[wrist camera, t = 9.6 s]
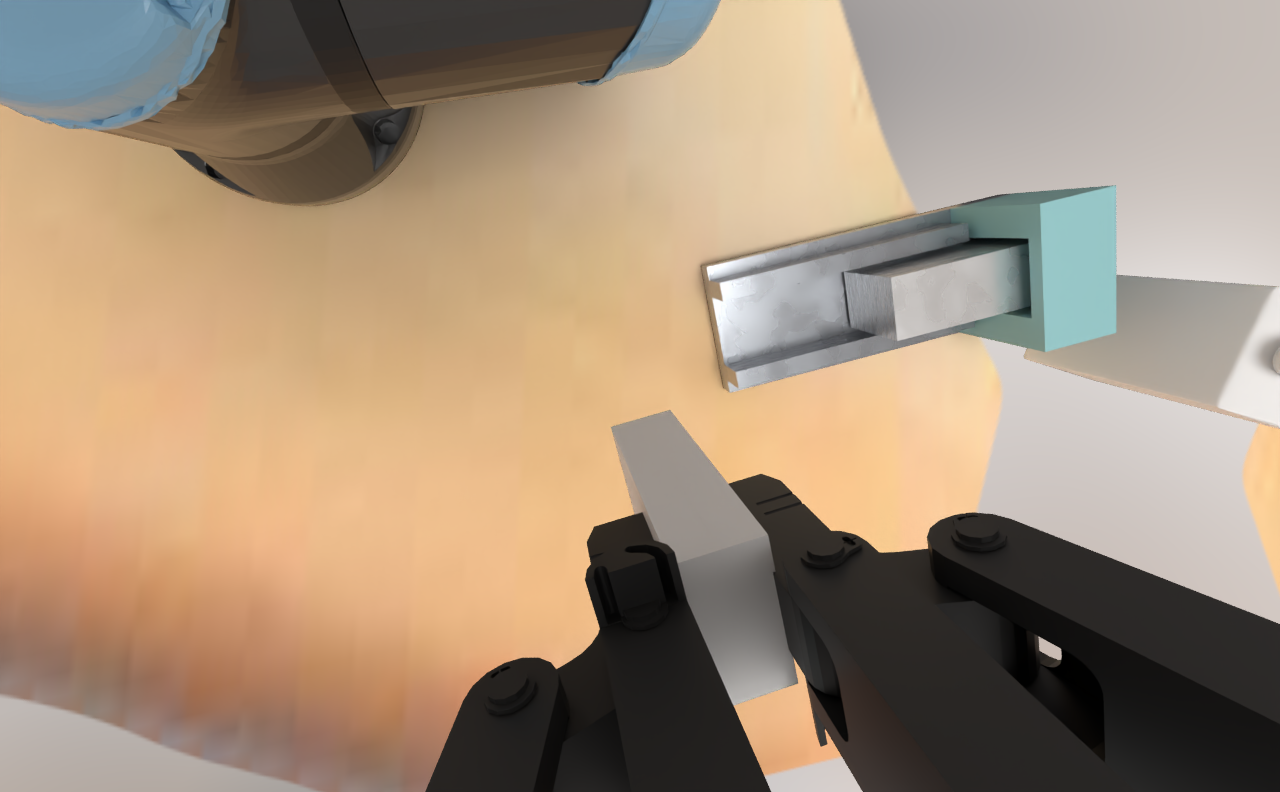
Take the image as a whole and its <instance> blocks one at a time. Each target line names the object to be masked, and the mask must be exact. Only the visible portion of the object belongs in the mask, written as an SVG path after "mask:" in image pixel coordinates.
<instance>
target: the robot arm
mask: <svg viewBox="0 0 1280 792" xmlns="http://www.w3.org/2000/svg"><path fill="white" fill-rule="evenodd" d="M720 1H721V0H0V104H2V105H4V106H7V107H9V108H11V109H13V110H15V111H17V112H19V113H21V114H23V115H25V116H30V117H34V118H36V119H38V120H40V121H42V122H46V123H49V124H52V123H55V124H57V125H59V126H61V127H64V128H68V129H78V128H87V129H92V130H96V131H101V132H105V133H109V134H114V135H118V136H123V137H127V138H132V139H136V140H141V141H145V142H149V143H154V144H158V145H163V146H167V147H171V148H172V149H173V150H174V151H175V152H177V153H178V154H179V155H180V156H181V157H182V158H183V159H184V160H185V161H187V162H188V163H189V164H190V165H191V166H193V167H194V168H195V169H197V170H198V171H199V172H201V173H202V174H204V175H205V176H207V177H208V178H210V179H212V180H214V181H215V182H217V183H219V184H221V185H223V186H225V187H227V188H229V189H231V190H233V191H235V192H238V193H240V194H243V195H246V196H249V197H252V198H255V199H259V200H262V201H267V202H272V203H279V204H287V205H296V206H318V205H327V204H333V203H337V202H341V201H345V200H348V199H350V198H353V197H356V196H358V195H360V194H362V193H364V192H366V191H368V190H370V189H371V188H373V187H374V186H376V185H377V184H379V183H380V182H381V181H382V180H384V179H385V178H386V177H387V176H388V175H389V174H390V173H391V172H392V171H393V170H394V169H395V168H396V167H397V166H398V165H399V163H400V162H401V161H402V160H403V158H404V157H405V155H406V154H407V152H408V150H409V148H410V147H411V145H412V143H413V141H414V138H415V136H416V134H417V131H418V128H419V125H420V121H421V118H422V113H423V107H424V105H425V104H432V103H439V102H445V101H452V100H459V99H465V98H472V97H479V96H486V95H492V94H499V93H506V92H513V91H519V90H526V89H533V88H540V87H546V86H553V85H560V84H566V83H573V82H577V83H578V84H580V85H583V86H596V85H600V84H602V83H603V82H605V81H609V80H611V79H613V78H614V77H615V76H618V75H623V74H628V73H633V72H639V71H644V70H649V69H654V68H658V67H662V66H665V65H668V64H670V63H671V62H672V61H674V60H676V59H677V58H679V57H681V56H682V55H684V54H685V53H686V52H687V51H688V50H689V49H691V48H692V47H693V46H694V45H695V44H696V43H697V41H698V40H699V39H700V37H701V36H702V35H703V33H704V32H705V30H706V28H707V27H708V25H709V24H710V22H711V20H712V18H713V16H714V14H715V12H716V10H717V8H718V6H719V3H720ZM611 429H612V433H613V436H614V440H615V444H616V447H617V451H618V455H619V458H620V462H621V466H622V469H623V473H624V477H625V480H626V484H627V488H628V491H629V495H630V499H631V503H632V506H633V510H634V514H635V515H631V516H628V517H625V518H621V519H618V520H615V521H612V522H608V523H605V524H602V525H599V526H595V527H594V529H593V531H592V533H591V535H590V537H589V539H588V541H587V546H588V552H589V557H590V562H591V565H590V566H589V568H588V569H587V572H586V578H585V581H586V585H587V588H588V591H589V594H590V597H591V601H592V604H593V607H594V610H595V614H596V617H597V620H598V623H599V627H600V630H599V633H598V635H597V637H596V638H595V640H594V641H593V643H592V644H591V645H590V646H589V647H588V648H587V649H586V650H585V651H584V652H583V653H582V654H580V655H579V656H577V657H576V658H574V659H573V660H572V661H570V662H568V663H567V664H565V665H563V666H562V667H560V668H558V669H555V667H554V666H553V665H552V663H551V662H548V661H546V660H543V659H541V658H520V659H517V660H513V661H510V662H507V663H504V664H502V665H500V666H498V667H496V668H495V669H493V670H491V671H490V672H488V673H486V674H485V675H484V676H483V677H482V678H481V679H480V680H479V681H478V682H476V683H475V684H474V685H473V686H472V688H471V689H470V691H469V693H468V694H467V696H466V697H465V699H464V700H463V703H462V705H461V708H460V710H459V712H458V715H457V717H456V720H455V722H454V724H453V727H452V729H451V732H450V734H449V736H448V739H447V741H446V744H445V746H444V748H443V751H442V753H441V756H440V758H439V760H438V763H437V765H436V768H435V770H434V772H433V775H432V777H431V780H430V782H429V784H428V787H427V789H426V792H771V791H770V788H769V786H768V783H767V781H766V779H765V777H764V774H763V772H762V770H761V767H760V765H759V763H758V761H757V758H756V756H755V754H754V752H753V749H752V747H751V745H750V742H749V740H748V738H747V736H746V733H745V731H744V729H743V726H742V724H741V722H740V720H739V717H738V715H737V713H736V711H735V708H734V706H733V705H736V704H739V703H742V702H745V701H748V700H751V699H754V698H757V697H760V696H763V695H766V694H768V693H771V692H774V691H777V690H780V689H783V688H786V687H789V686H792V685H795V684H798V679H797V674H796V669H795V664H794V659H795V660H796V662H797V664H798V665H799V667H800V668H801V670H802V672H803V673H804V675H805V678H806V683H807V688H808V693H809V698H810V703H811V708H812V713H813V718H814V723H815V728H816V733H817V737H818V740H819V743H820V746H824V745H827V740H826V735H825V729H826V730H827V732H828V734H829V736H830V737H831V739H832V741H833V742H834V744H835V746H836V747H837V749H838V751H839V752H840V754H841V756H842V757H843V759H844V761H845V762H846V764H847V766H848V768H849V769H850V771H851V773H852V774H853V776H854V777H855V779H856V781H857V783H858V784H859V786H860V788H861V789H862V791H863V792H1280V624H1278V623H1276V622H1273V621H1270V620H1268V619H1265V618H1263V617H1260V616H1258V615H1255V614H1253V613H1250V612H1247V611H1245V610H1242V609H1240V608H1237V607H1235V606H1232V605H1229V604H1227V603H1224V602H1222V601H1219V600H1217V599H1214V598H1212V597H1209V596H1206V595H1204V594H1201V593H1199V592H1196V591H1194V590H1191V589H1189V588H1186V587H1183V586H1181V585H1178V584H1176V583H1173V582H1171V581H1168V580H1166V579H1163V578H1160V577H1158V576H1155V575H1153V574H1150V573H1147V572H1145V571H1142V570H1140V569H1137V568H1135V567H1132V566H1129V565H1127V564H1124V563H1122V562H1119V561H1117V560H1114V559H1112V558H1109V557H1107V556H1104V555H1102V554H1099V553H1096V552H1094V551H1091V550H1089V549H1086V548H1084V547H1081V546H1078V545H1076V544H1073V543H1071V542H1068V541H1066V540H1063V539H1061V538H1058V537H1055V536H1053V535H1050V534H1048V533H1045V532H1043V531H1040V530H1037V529H1035V528H1032V527H1030V526H1027V525H1025V524H1022V523H1020V522H1017V521H1015V520H1012V519H1009V518H1005V517H1001V516H997V515H993V514H983V513H966V514H958V515H953V516H951V517H948V518H945V519H942V520H940V521H938V522H937V523H936V524H935V525H933V526H932V527H931V528H930V530H929V533H928V536H927V541H928V549H922V550H913V551H903V552H889V553H880V552H878V551H877V550H876V549H875V548H874V547H872V546H871V545H870V544H869V543H868V542H867V541H865V540H864V539H862V538H860V537H859V536H857V535H855V534H851V533H846V532H842V531H831V530H830V529H829V528H828V527H827V526H826V525H825V524H823V523H822V522H821V521H820V520H819V519H818V518H817V517H816V516H815V515H814V514H813V513H812V512H811V511H810V510H809V509H808V508H807V507H806V506H805V505H804V504H802V502H801V501H800V500H799V499H798V498H797V497H796V496H795V495H794V494H792V492H791V491H790V490H789V489H788V488H787V487H786V486H785V485H784V484H783V483H782V482H781V481H780V480H777V479H774V478H772V477H769V476H766V475H763V474H759V475H756V476H753V477H749V478H746V479H743V480H739V481H736V482H733V483H730V484H728V483H727V482H726V480H725V479H724V478H723V477H722V475H721V474H720V473H719V472H718V470H717V469H716V468H715V467H714V465H713V464H712V463H711V461H710V460H709V459H708V458H707V456H706V455H705V454H704V453H703V451H702V450H701V449H700V447H699V446H698V445H697V444H696V442H695V441H694V440H693V439H692V437H691V436H690V435H689V433H688V432H687V431H686V430H685V428H684V427H683V426H682V425H681V423H680V422H679V421H678V420H677V418H676V417H675V416H674V414H673V413H672V412H671V411H670V410H668V411H665V412H661V413H658V414H654V415H651V416H647V417H644V418H640V419H637V420H634V421H630V422H627V423H623V424H620V425H616V426H613V427H611ZM1038 636H1039V637H1041V638H1043V639H1045V640H1046V641H1048V642H1050V643H1052V644H1054V645H1056V646H1057V647H1059V648H1061V651H1062V659H1061V660H1057V659H1054V658H1052V657H1049V656H1048V655H1046V654H1044V653H1042V652H1040V651H1039V639H1038ZM793 657H794V659H793Z"/></svg>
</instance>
